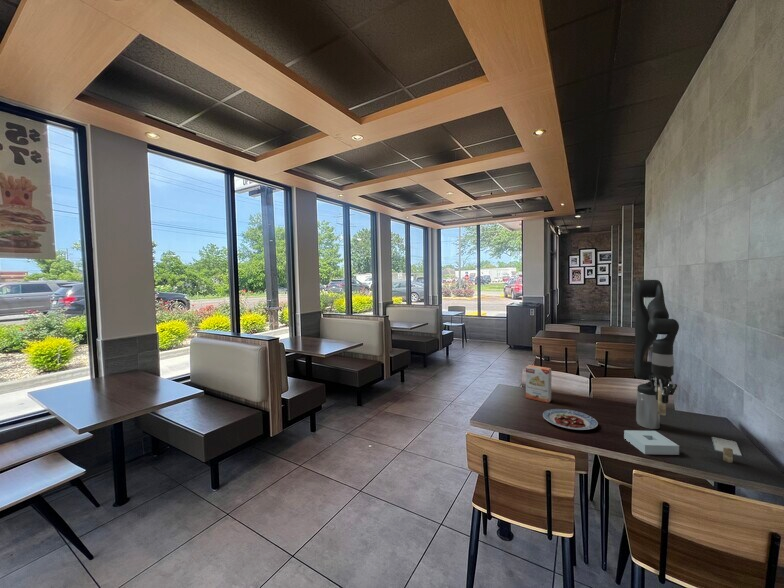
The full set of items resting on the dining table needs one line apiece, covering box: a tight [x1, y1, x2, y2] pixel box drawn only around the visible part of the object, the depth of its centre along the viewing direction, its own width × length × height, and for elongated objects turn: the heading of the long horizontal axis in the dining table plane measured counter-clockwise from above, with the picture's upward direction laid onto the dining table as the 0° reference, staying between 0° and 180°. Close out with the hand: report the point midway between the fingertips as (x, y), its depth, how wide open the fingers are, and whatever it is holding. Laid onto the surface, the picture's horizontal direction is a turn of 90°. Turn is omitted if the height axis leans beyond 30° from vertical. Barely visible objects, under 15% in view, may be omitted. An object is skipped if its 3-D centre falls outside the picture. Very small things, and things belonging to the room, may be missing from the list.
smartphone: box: [711, 436, 743, 457], centre depth 146 cm, size 8×1×15 cm
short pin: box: [722, 447, 734, 464], centre depth 135 cm, size 3×3×5 cm
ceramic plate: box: [542, 408, 599, 431], centre depth 174 cm, size 26×26×3 cm
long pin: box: [658, 387, 667, 416], centre depth 145 cm, size 3×3×12 cm
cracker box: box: [525, 364, 552, 404], centre depth 207 cm, size 14×6×21 cm, turn 48°
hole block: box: [623, 429, 680, 456], centre depth 148 cm, size 14×14×4 cm
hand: (661, 401), depth 145 cm, fingers closed on long pin, 2 cm apart
